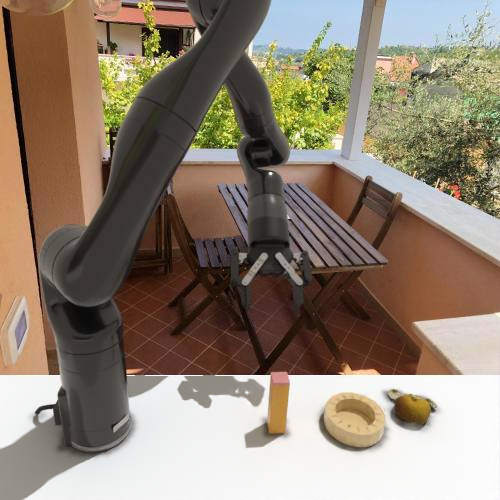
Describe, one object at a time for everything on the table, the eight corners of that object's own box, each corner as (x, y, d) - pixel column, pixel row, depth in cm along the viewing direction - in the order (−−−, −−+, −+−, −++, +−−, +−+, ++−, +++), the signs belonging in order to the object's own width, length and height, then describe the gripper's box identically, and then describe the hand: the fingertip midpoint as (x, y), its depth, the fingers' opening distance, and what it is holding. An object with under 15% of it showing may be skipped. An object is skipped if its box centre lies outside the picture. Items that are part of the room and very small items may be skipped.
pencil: (269, 433, 68) (273, 382, 65) (267, 421, 71) (270, 371, 67) (285, 433, 69) (290, 382, 65) (282, 421, 71) (286, 371, 67)
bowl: (333, 448, 66) (334, 435, 65) (317, 405, 75) (319, 393, 74) (392, 445, 67) (395, 433, 66) (370, 403, 76) (372, 391, 75)
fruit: (435, 402, 77) (439, 385, 76) (437, 434, 70) (441, 417, 68) (387, 389, 80) (391, 373, 78) (384, 420, 72) (387, 402, 71)
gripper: (230, 214, 75) (232, 302, 69) (309, 215, 77) (319, 302, 70) (228, 232, 82) (230, 315, 76) (301, 233, 84) (308, 314, 77)
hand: (273, 308), depth 73 cm, fingers open, 8 cm apart
